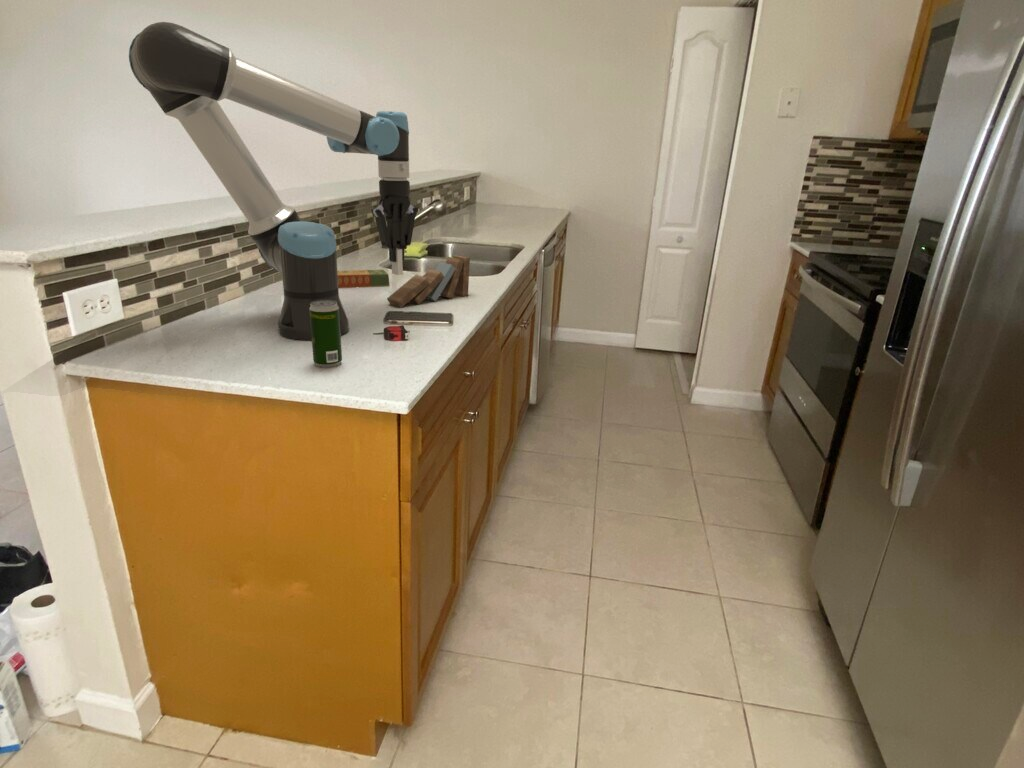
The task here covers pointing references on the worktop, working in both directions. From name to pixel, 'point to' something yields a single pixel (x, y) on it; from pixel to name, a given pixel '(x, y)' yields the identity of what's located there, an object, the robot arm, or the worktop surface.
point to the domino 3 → (447, 273)
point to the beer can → (325, 333)
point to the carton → (362, 278)
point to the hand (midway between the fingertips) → (397, 273)
